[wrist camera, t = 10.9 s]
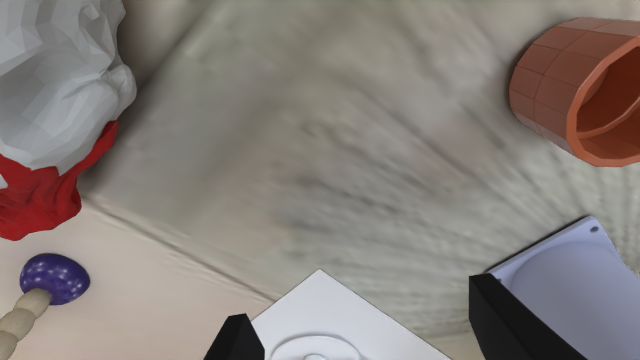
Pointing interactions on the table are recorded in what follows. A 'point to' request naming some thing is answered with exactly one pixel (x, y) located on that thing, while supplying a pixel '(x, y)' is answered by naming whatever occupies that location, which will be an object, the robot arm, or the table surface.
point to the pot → (583, 89)
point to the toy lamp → (40, 296)
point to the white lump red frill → (56, 105)
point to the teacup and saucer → (334, 327)
